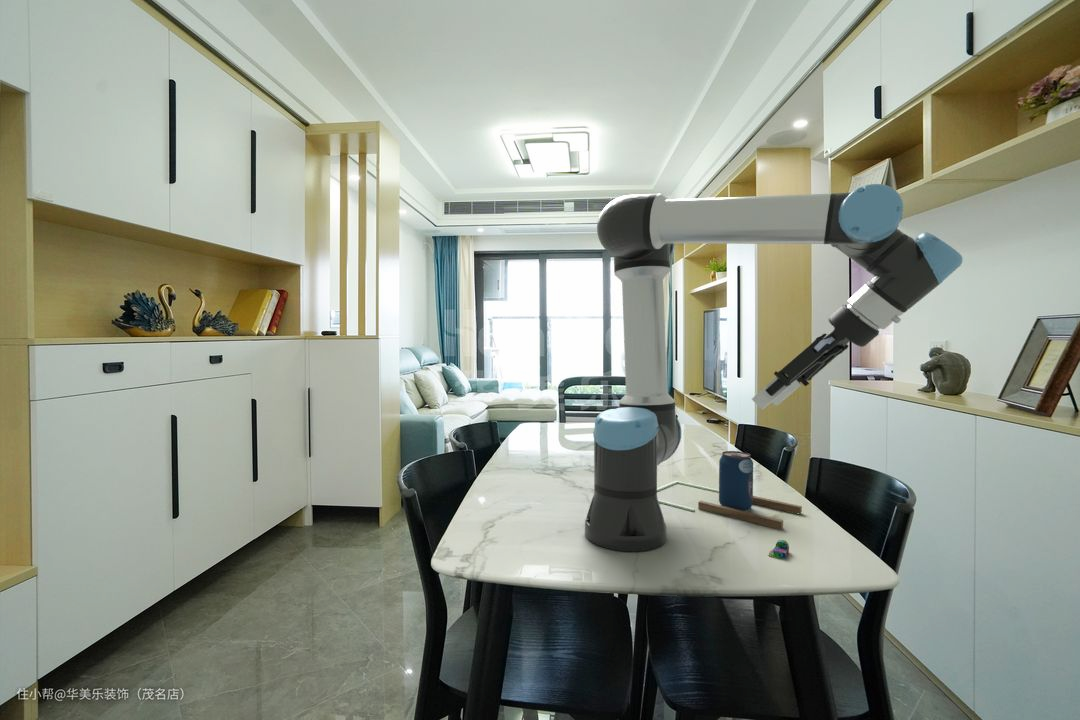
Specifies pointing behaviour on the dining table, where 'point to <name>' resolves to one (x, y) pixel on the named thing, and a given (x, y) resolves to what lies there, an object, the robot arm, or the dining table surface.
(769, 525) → the walnut rails
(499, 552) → the dining table surface
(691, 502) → the dining table surface
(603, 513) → the robot arm
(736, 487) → the soda can
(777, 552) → the multicolored toy figure
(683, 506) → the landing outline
